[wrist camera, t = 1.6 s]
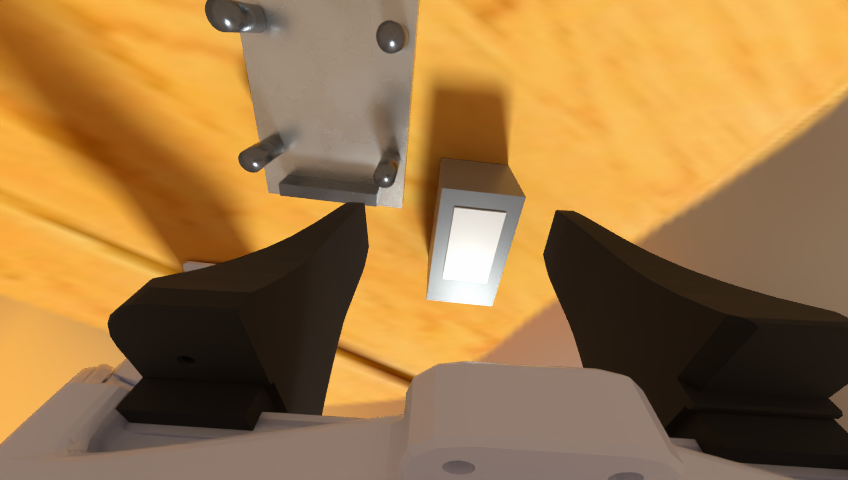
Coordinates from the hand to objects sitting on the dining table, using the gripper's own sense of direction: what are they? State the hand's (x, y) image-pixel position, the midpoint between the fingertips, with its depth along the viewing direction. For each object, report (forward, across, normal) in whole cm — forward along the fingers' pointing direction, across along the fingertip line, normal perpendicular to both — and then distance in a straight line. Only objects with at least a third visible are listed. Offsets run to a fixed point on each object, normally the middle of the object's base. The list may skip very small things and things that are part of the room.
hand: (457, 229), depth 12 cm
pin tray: (+10, +7, -3) cm, 12 cm away
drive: (+10, -1, +5) cm, 11 cm away
